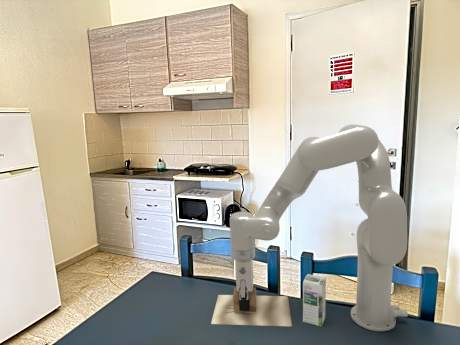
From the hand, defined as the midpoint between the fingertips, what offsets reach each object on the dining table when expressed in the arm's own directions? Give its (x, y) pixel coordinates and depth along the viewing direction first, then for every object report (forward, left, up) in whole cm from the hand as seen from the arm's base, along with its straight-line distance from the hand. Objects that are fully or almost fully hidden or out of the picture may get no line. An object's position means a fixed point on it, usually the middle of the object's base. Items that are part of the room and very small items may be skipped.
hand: (245, 304), depth 103 cm
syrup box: (-21, +4, -3) cm, 22 cm away
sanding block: (0, 0, -1) cm, 1 cm away
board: (-2, 0, -3) cm, 4 cm away
